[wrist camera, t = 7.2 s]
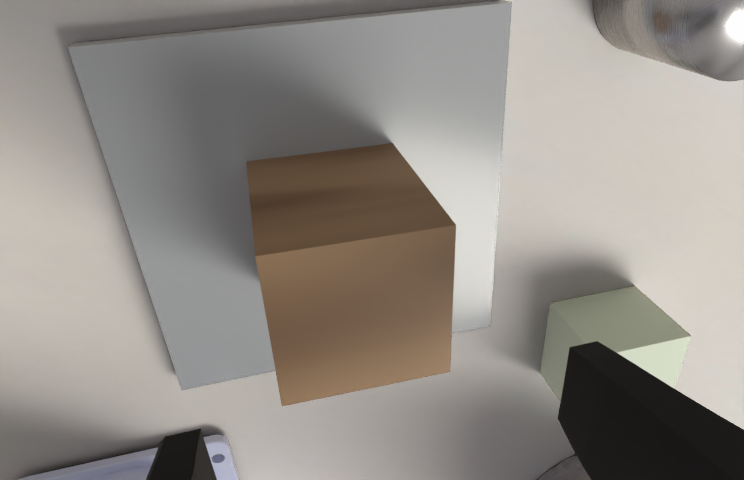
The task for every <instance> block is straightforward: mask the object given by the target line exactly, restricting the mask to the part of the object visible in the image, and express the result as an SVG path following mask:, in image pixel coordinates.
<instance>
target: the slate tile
mask: <svg viewBox="0 0 744 480" xmlns="http://www.w3.org/2000/svg"><path fill="white" fill-rule="evenodd" d="M511 7H512V2H508V1H505V0H498V1H488V2H478V3H468V4H458V5H448V6H438V7H428V8H418V9H408V10H398V11H389V12H379V13H369V14H359V15H349V16H339V17H329V18H319V19H309V20H299V21H289V22H279V23H270V24H260V25H250V26H240V27H230V28H220V29H210V30H200V31H190V32H180V33H170V34H160V35H150V36H141V37H131V38H121V39H111V40H101V41H91V42H81V43H73V44H71V45H70V46H69V47H68V51H69V54H70V57H71V60H72V63H73V66H74V69H75V72H76V75H77V78H78V81H79V84H80V87H81V90H82V93H83V96H84V99H85V102H86V105H87V108H88V111H89V114H90V117H91V120H92V123H93V126H94V129H95V132H96V135H97V138H98V141H99V144H100V147H101V150H102V153H103V156H104V159H105V162H106V165H107V168H108V171H109V174H110V177H111V180H112V183H113V186H114V189H115V192H116V195H117V198H118V201H119V204H120V207H121V210H122V213H123V216H124V219H125V222H126V225H127V228H128V231H129V234H130V237H131V240H132V243H133V246H134V249H135V252H136V255H137V258H138V261H139V264H140V267H141V270H142V273H143V276H144V279H145V282H146V285H147V288H148V291H149V294H150V297H151V300H152V303H153V306H154V309H155V312H156V315H157V318H158V321H159V324H160V327H161V330H162V333H163V336H164V339H165V342H166V345H167V348H168V351H169V354H170V357H171V360H172V363H173V366H174V369H175V372H176V375H177V378H178V381H179V384H180V387H181V390H185V389H190V388H195V387H200V386H204V385H209V384H214V383H219V382H224V381H229V380H233V379H238V378H243V377H248V376H253V375H257V374H262V373H267V372H272V371H276V370H275V364H274V358H273V353H272V347H271V342H270V336H269V331H268V325H267V319H266V314H265V308H264V303H263V297H262V292H261V286H260V280H259V275H258V269H257V264H256V258H255V249H254V238H253V228H252V217H251V207H250V196H249V185H248V175H247V164H246V161H254V160H262V159H270V158H278V157H286V156H294V155H302V154H310V153H318V152H326V151H334V150H342V149H350V148H358V147H366V146H374V145H381V144H389V143H393V144H394V145H395V147H396V148H397V149H398V151H399V152H400V153H401V154H402V156H403V157H404V158H405V160H406V161H407V162H408V163H409V165H410V166H411V167H412V169H413V170H414V171H415V173H416V174H417V175H418V176H419V178H420V179H421V180H422V182H423V183H424V184H425V185H426V187H427V188H428V189H429V191H430V192H431V193H432V194H433V196H434V197H435V198H436V200H437V201H438V202H439V204H440V205H441V206H442V207H443V209H444V210H445V211H446V213H447V214H448V215H449V216H450V218H451V219H452V220H453V222H454V223H455V224H456V242H455V266H454V290H453V314H452V334H455V333H460V332H465V331H470V330H474V329H479V328H484V327H489V326H490V324H491V309H492V293H493V278H494V263H495V248H496V233H497V218H498V203H499V188H500V173H501V158H502V142H503V127H504V112H505V97H506V82H507V67H508V52H509V37H510V22H511Z"/></svg>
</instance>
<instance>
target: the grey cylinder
mask: <svg viewBox="0 0 744 480" xmlns="http://www.w3.org/2000/svg"><path fill="white" fill-rule="evenodd" d="M594 14H595V19H596V23H597V25H598V28H599V30H600V32H601V33H602V35H603V37H604V38H605V39H606V40H607V41H608V42H609V43H610V44H611V45H613V46H615V47H616V48H618V49H621V50H624V51H628V52H631V53H634V54H637V55H640V56H644V57H647V58H650V59H653V60H656V61H660V62H663V63H666V64H669V65H672V66H676V67H679V68H682V69H685V70H688V71H692V72H695V73H698V74H701V75H704V76H707V77H711V78H714V79H717V80H721V81H737V80H743V79H744V0H594Z"/></svg>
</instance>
